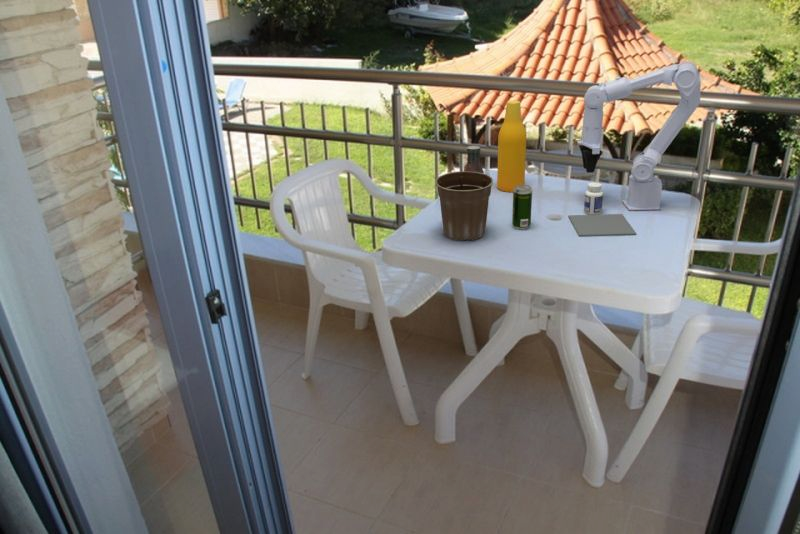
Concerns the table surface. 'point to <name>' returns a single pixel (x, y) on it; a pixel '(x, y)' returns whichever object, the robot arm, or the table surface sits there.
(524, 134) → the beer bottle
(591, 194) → the pill bottle
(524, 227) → the beer can
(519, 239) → the table surface
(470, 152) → the sauce bottle
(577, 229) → the mat
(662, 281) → the table surface
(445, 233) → the plant pot
